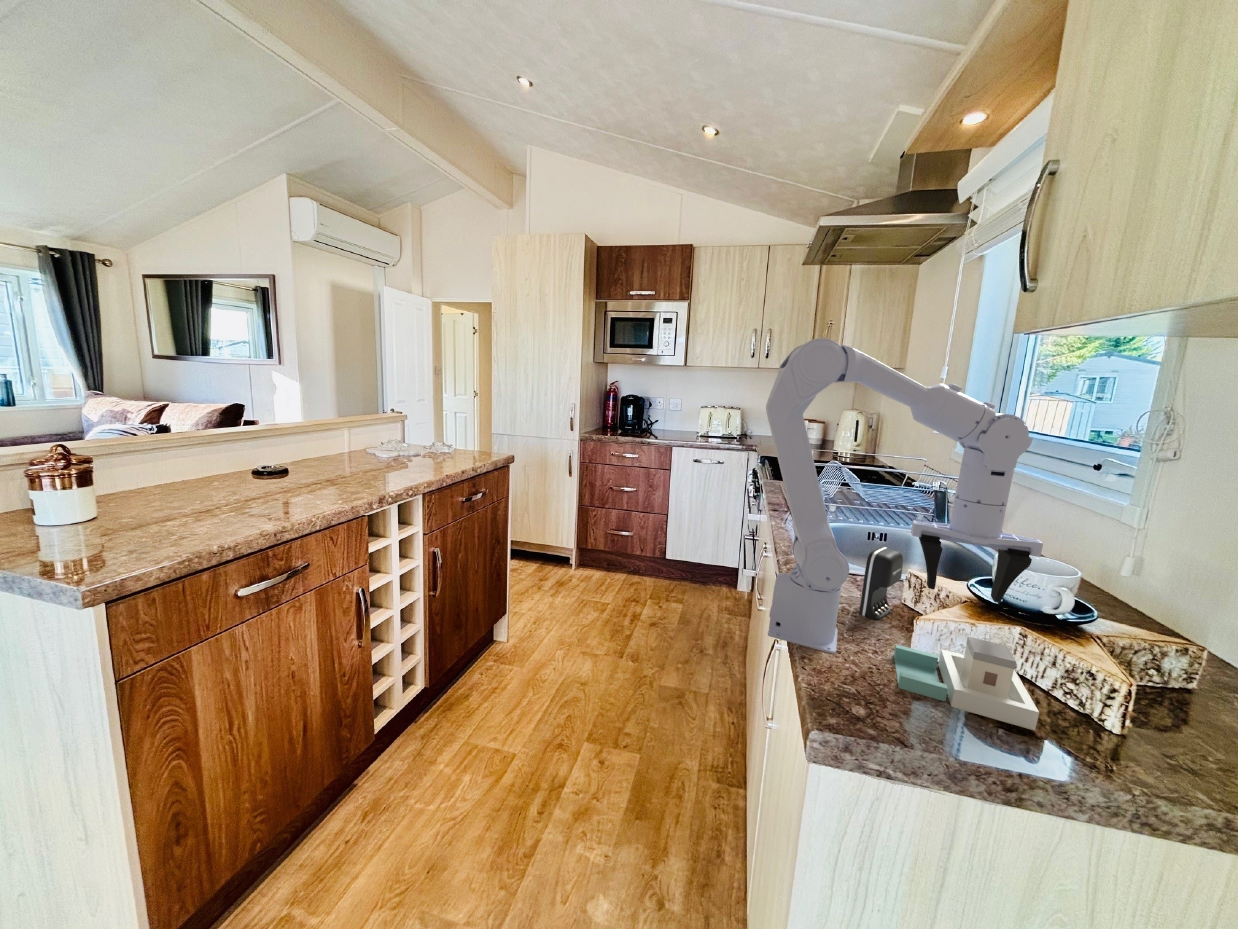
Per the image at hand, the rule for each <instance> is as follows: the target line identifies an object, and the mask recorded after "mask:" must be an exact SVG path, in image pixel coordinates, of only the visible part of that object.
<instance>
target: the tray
mask: <svg viewBox="0 0 1238 929" xmlns="http://www.w3.org/2000/svg"><path fill="white" fill-rule="evenodd" d="M964 655H965V654H961V653H957V652H953V651H950V650H946V649H940V652H939V657H938V662H937V667H938V668H939V671H940V675H941V678H942V682H943V684H946V685H947V688H948V690H947V698H948V701H949V703H950V707H951V708H955V709H957V710H961V711H965V712H968V713H973V714H977V715H979V716H983V717H985V718H990V719H993V720H996V721H1000V722H1004V723H1006V724H1009V725H1010V724H1011V725H1012V726H1013V725H1015V726H1018V727H1020V728H1025V729H1027V730H1031V731H1036V727H1037V723H1038V719H1039V716H1040V711H1039V709H1038V707H1037V706H1036V704H1035V702H1034V701H1033V699H1032V697H1031V696H1030V694H1029V692H1028V691H1027V689H1026V687H1025V685H1024V684H1023V682H1022V680H1021V678H1020V676H1019V675H1018V673H1017V672H1016V669H1014V672H1013V676H1012V681H1011V685H1010V690H1009V694H1008V698H1007V699H1004V698H1001V697H997V696H993V695H990V694H986V693H982V692H979V691H975V690H971V689H968V688H964V687H963V686H962V683H961V680H960V675H961V670H962V665H963V660H964Z"/></svg>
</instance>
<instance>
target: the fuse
mask: <svg viewBox="0 0 1238 929" xmlns="http://www.w3.org/2000/svg"><path fill="white" fill-rule="evenodd" d="M963 655H964V660H963V665H962V670H961V675H960V680H961V683H962V686H963V687H964V688H968V689H971V690H975V691H979V692H982V693H986V694H990V695H993V696H997V697H1001V698H1004V699H1007V698H1008V694H1009V690H1010V685H1011V681H1012V676H1013V672H1014V670H1016V665H1017V660H1016V658H1015V657H1014V655H1013V654H1012V652H1011V650H1010V648H1009V647H1008V645H1007V644H1002V643H997V642H992V641H988V640H984V639H980V638H977V637H976V638H975V637H972V636H967V637H966V647H965V652H964V654H963Z"/></svg>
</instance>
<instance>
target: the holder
mask: <svg viewBox="0 0 1238 929" xmlns="http://www.w3.org/2000/svg"><path fill="white" fill-rule="evenodd" d="M893 661H894V665H895V666H894V667H895V673H896V680H897V686H898V687H897V688H898V689H901V690H904V691H906V692H910V693H914V694H917V695H921V696H925V697H927V698H931V699H935V700H939V701H942V702H946V701H947V697H948V694H947V690H948V688H947V685H946V684H944V682H943V683H942V682H940V679H939V675H938V671H937V667H938V663H939V657H938V654H937V653H936V654H935V653H931V652H927V651H923V650H919V649H916V648H913V647H912V648H911V647H907V646H903V645H899V644H895V647H894V652H893Z"/></svg>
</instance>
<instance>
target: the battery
mask: <svg viewBox="0 0 1238 929" xmlns="http://www.w3.org/2000/svg"><path fill="white" fill-rule="evenodd" d="M903 568H904V557H903V554H902V553H901V552H899V551H898V550H895V549H890V548H888V547H886V546H880V547H877V548H875V549H873V550H872V551H870V553H869V554H868V555H867V558H866V563H865V569H864V570H865V571H864V576H863V582H862V584H863V585H862V590H861V599H860V604H859V605H860V606H859V611H858V614H859V615H860V616H862V617H865V618H867V619H870V620H875V621H879V620H881V619H883V618H885V617H886V616H888V615H889V614H890V613H891V612H892V609H891V607H890V604H889V601H888V596H887V593H888V588H890V587H892V586H893V585H895V584H896V583H898V582H900V581H901V579H902V576H903V574H902V573H903Z"/></svg>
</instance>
